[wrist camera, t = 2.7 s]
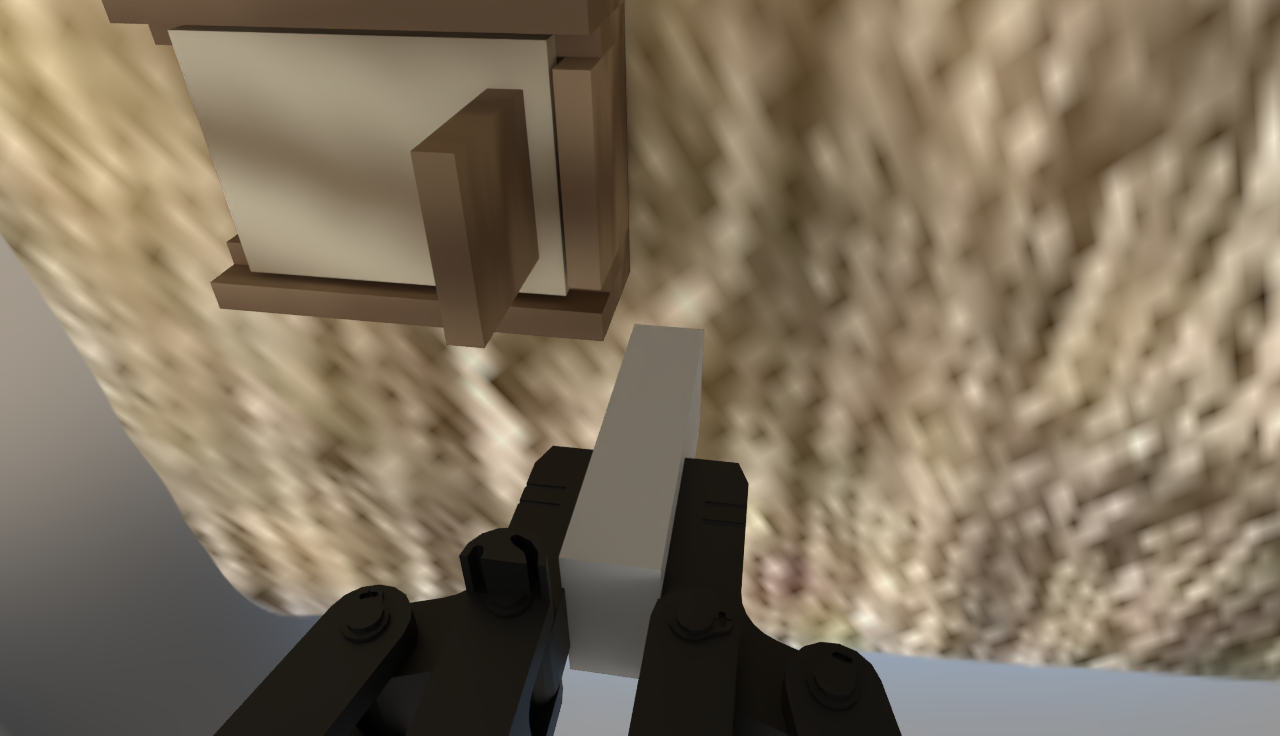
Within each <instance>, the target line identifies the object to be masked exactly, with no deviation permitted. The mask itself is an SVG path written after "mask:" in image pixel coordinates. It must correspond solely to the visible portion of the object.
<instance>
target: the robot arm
mask: <svg viewBox="0 0 1280 736" xmlns="http://www.w3.org/2000/svg"><path fill="white" fill-rule="evenodd" d="M703 339H704V330H703V329H690V328H678V327H665V326H652V325H639V324H635V325H634V328H633V331H632V334H631V337H630V340H629V343H628V346H627V349H626V352H625V355H624V358H623V361H622V364H621V368H620V371H619V374H618V377H617V380H616V383H615V386H614V389H613V392H612V395H611V398H610V401H609V404H608V407H607V410H606V414H605V417H604V420H603V423H602V426H601V429H600V432H599V435H598V438H597V441H596V444H595V447H594V450H590V449H580V448H570V447H560V446H552V447H551V448H550V449H549V450H548V451H547V452H546V453H545V454H544V455H543V456H542V457H541V458H540V459H539V460H537V461H536V462H535V464H534V467H533V469H532V472H531V474H530V476H529V479H528V481H527V486H526V487H525V488H524V491H523V493H522V496H521V498H520V503H519V504H518V505H517V508H516V510H515V513H514V515H513V517H512V520H511V522H510V525H509V527H508V528H498V529H495V530H492V531H489V532H486V533H482V534H481V535H479V536H478V537H476V538H475V539H473V540H472V541H471V542H469V543H468V544H467V545H466V547H465V548H464V550H463V551H462V552H461V554H460V555H459V557H460V562H461V567H462V571H463V576H464V581H465V585H466V590H465V591H463V592H461V593H459V594H456V595H452V596H448V597H444V598H438V599H432V600H425V601H419V602H412V603H410V602H409V600H408V598H407V596H406V594H404V593H403V592H401V591H400V590H398V589H397V588H395V587H391V586H385V585H373V586H366V587H361V588H359V589H357V590H355V591H352V592H350V593H348V594H346V595H344V596H343V597H342V598H341V599H339V600H338V601H337V602H336V603H335V604H333V605H332V606H331V607H330V608H329V609H328V610H327V611H326V613H325V614H324V615H323V616H322V617H321V618H320V619H319V620H318V621H317V623H316V624H315V625H314V626H313V627H312V628H311V629H310V630H309V631H308V632H307V633H306V635H305V636H304V637H303V638H302V639H301V640H300V641H299V642H298V643H297V644H296V646H295V647H294V648H293V649H292V650H291V651H290V652H289V653H288V654H287V655H286V656H285V658H284V659H283V660H282V661H281V662H280V663H279V664H278V665H277V666H276V667H275V669H274V670H273V671H272V672H271V673H270V674H269V675H268V676H267V677H266V678H265V679H264V681H263V682H262V683H261V684H260V685H259V686H258V687H257V688H256V689H255V691H254V692H253V693H252V694H251V695H250V696H249V697H248V698H247V699H246V700H245V701H244V703H243V704H242V705H241V706H240V707H239V708H238V709H237V710H236V711H235V712H234V713H233V715H232V716H231V717H230V718H229V719H228V720H227V721H226V722H225V723H224V725H223V726H222V727H221V728H220V729H219V730H218V731H217V732H216V733H215V734H214V735H213V736H553V734H554V731H555V727H556V723H557V719H558V716H559V712H560V708H561V704H562V694H563V686H562V675H563V671H564V667H565V664H566V660H567V656H568V653H569V661H570V669H574V670H581V671H588V672H595V673H601V674H609V675H615V676H622V677H630V678H636V679H639V680H638V685H637V691H636V696H635V701H634V707H633V713H632V718H631V723H630V728H629V734H628V736H902V735H901V732H900V730H899V727H898V724H897V722H896V719H895V716H894V714H893V711H892V708H891V705H890V703H889V700H888V697H887V695H886V692H885V689H884V687H883V684H882V681H881V679H880V678H879V676H878V674H877V672H876V671H875V669H874V667H873V666H872V664H871V663H870V662H868V661H867V660H866V659H865V658H863V656H861V655H860V654H859V653H858V652H857V651H854V650H852V649H850V648H848V647H845V646H843V645H841V644H836V643H826V642H818V643H815V644H811V645H807V646H804V647H802V648H801V649H800V650H797V649H794V648H792V647H790V646H788V645H785V644H783V643H781V642H779V641H776V640H775V639H773V638H771V637H769V636H768V635H766V634H764V633H763V632H762V631H761V630H760V629H758V628H757V627H756V626H755V625H754V624H753V623H752V621H751V620H750V618H749V617H748V616H747V614H746V612H745V609H744V606H743V604H742V595H741V588H742V573H743V558H744V543H745V527H746V514H747V499H748V482H747V479H746V477H745V475H744V473H743V471H742V469H741V467H740V465H739V463H733V462H723V461H713V460H704V459H695V454H696V447H697V441H698V434H699V426H700V404H701V383H702V361H703Z"/></svg>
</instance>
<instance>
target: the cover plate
mask: <svg viewBox="0 0 1280 736" xmlns="http://www.w3.org/2000/svg"><path fill="white" fill-rule="evenodd" d="M168 33H169V36H170V39H171V42H172V45H173V48H174V51H175V53H176V56H177V59H178V62H179V65H180V68H181V71H182V74H183V77H184V79H185V82H186V85H187V88H188V91H189V94H190V97H191V100H192V103H193V106H194V108H195V111H196V114H197V117H198V120H199V123H200V126H201V129H202V132H203V134H204V137H205V140H206V143H207V146H208V149H209V152H210V155H211V158H212V160H213V163H214V166H215V169H216V172H217V175H218V178H219V181H220V184H221V186H222V189H223V192H224V195H225V198H226V201H227V204H228V207H229V210H230V212H231V215H232V218H233V221H234V224H235V227H236V230H237V233H238V236H239V238H240V241H241V244H242V247H243V250H244V253H245V256H246V259H247V262H248V264H249V267H250V270H251V272H264V273H277V274H290V275H303V276H316V277H329V278H342V279H355V280H367V281H380V282H393V283H406V284H419V285H432V286H436V291H437V296H438V301H439V306H440V312H441V317H442V322H443V327H444V333H445V338H446V343H447V345H454V346H466V347H477V348H485V346H486V345H487V343H488V342H489V340H490V338H491V337H492V335H493V333H494V332H495V330H496V328H497V327H498V325H499V324H500V322H501V320H502V319H503V317H504V315H505V314H506V312H507V310H508V309H509V307H510V305H511V304H512V302H513V301H514V299H515V297H516V296H517V294H518V292H523V293H536V294H549V295H562V296H566V295H567V293H568V291H569V289H570V288H569V287H568V274H567V260H566V247H565V233H564V220H563V207H562V193H561V180H560V166H559V153H558V139H557V126H556V113H555V99H554V86H553V72H552V69H553V68H554V67H555V66H556V65H557V60H556V45H555V34H517V33H478V32H440V31H401V30H362V29H324V28H285V27H246V26H208V25H182V26H179V27H176V28H173V29H169V30H168Z"/></svg>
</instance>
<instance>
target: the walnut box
mask: <svg viewBox="0 0 1280 736" xmlns="http://www.w3.org/2000/svg"><path fill="white" fill-rule="evenodd" d="M102 2H103V5H104V7H105V10H106V13H107V15H108V18H109V20H110V23H130V24H149V27H150V30H151V33H152V35H153V38H154V41H155V44H156V45H172V42H171V39H170V36H169V33H168V30H169V29H173V28H176V27H179V26H182V25H208V26H246V27H285V28H324V29H362V30H401V31H440V32H478V33H517V34H555V45H556V60H557V65H556V66H555V67H554V68H553V69H552V72H553V86H554V99H555V113H556V126H557V139H558V153H559V166H560V180H561V193H562V207H563V220H564V233H565V247H566V260H567V274H568V287H569V288H570V289H569V291H568V293H567V295H566V296H562V295H549V294H536V293H523V292H518V294H517V296H516V297H515V299H514V301H513V302H512V304H511V305H510V307H509V309H508V310H507V312H506V314H505V315H504V317H503V319H502V320H501V322H500V324H499V325H498V327H497V328H496V330H495V332H501V333H513V334H525V335H536V336H548V337H560V338H571V339H583V340H595V341H603V340H604V338H605V335H606V333H607V330H608V327H609V325H610V322H611V320H612V317H613V314H614V312H615V309H616V307H617V304H618V301H619V299H620V296H621V294H622V291H623V288H624V286H625V283H626V281H627V278H628V275H629V273H630V256H629V208H628V160H627V112H626V64H625V16H624V0H102ZM227 245H228V248H229V251H230V253H231V256H232V259H233V262H234V265H233V266H231V267H230V268H229V269H227V270H226V271H225V272H223V273H222V274H221V275H220V276H218V277H217V278H216V279H214V280H213V281H212V282H210V283H211V286H212V288H213V291H214V294H215V296H216V299H217V301H218V304H219V307H220V308H221V309H233V310H244V311H256V312H268V313H279V314H291V315H303V316H314V317H326V318H338V319H349V320H361V321H373V322H384V323H396V324H408V325H420V326H431V327H443V322H442V317H441V312H440V306H439V301H438V296H437V291H436V286H432V285H419V284H406V283H393V282H380V281H367V280H355V279H342V278H329V277H316V276H303V275H290V274H277V273H264V272H251V270H250V267H249V264H248V262H247V259H246V256H245V253H244V250H243V247H242V244H241V241H240V238H239V236H238V234H237V235H236V236H235V237H233V238H232V239H230V240H229V241H228V242H227ZM443 328H444V327H443Z"/></svg>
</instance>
